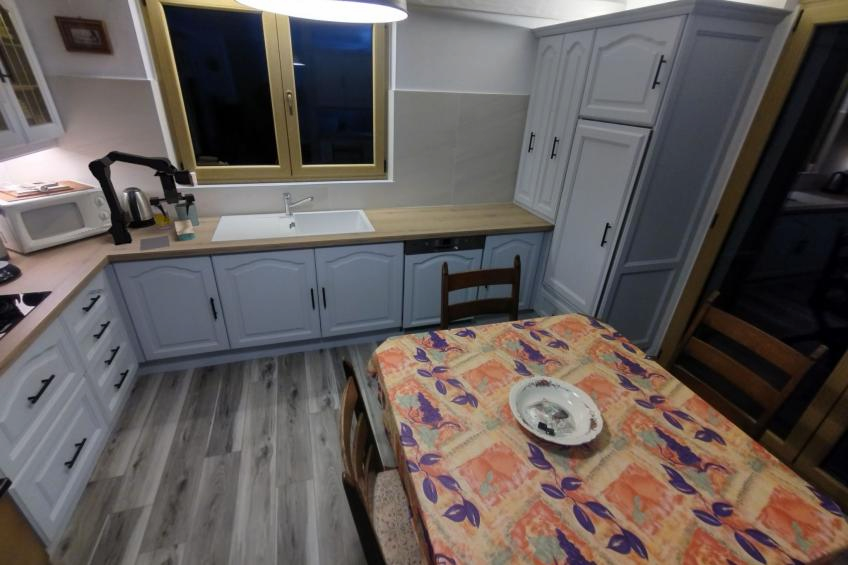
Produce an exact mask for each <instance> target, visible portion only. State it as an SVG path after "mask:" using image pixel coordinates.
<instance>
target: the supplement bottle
mask: <svg viewBox="0 0 848 565" xmlns="http://www.w3.org/2000/svg"><path fill="white" fill-rule="evenodd" d="M161 204H162V206H163V209H164V211H165V213H166V217H167V218H166V217H165V216H164V215H163V213H162V212H161V210H160V209H159V208H158V207H154V206H153V210H152V214H153V217H154V221H155V223H156V224H155V225H156V227H157V229H158V230H165V229H170V228H172V222H171V218H170V216H169V213H168V209H166V208H165V205H164V203H161Z"/></svg>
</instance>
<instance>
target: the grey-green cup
mask: <svg viewBox="0 0 848 565" xmlns="http://www.w3.org/2000/svg"><path fill="white" fill-rule="evenodd" d="M173 206H174V207H173V208H174V210H175V212H176V215H177V218H178V221H185V220H191V223H192V226H193V227H198V226H199V225H200V222H199V217H198V212H197V207H196V202H195V201H194V202H193V203H191V204H190V206H189V212H188V215H187V213H186V205H185V201H184V202H179V203H178V204H176V203H175V204H174V205H173Z"/></svg>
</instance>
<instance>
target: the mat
mask: <svg viewBox="0 0 848 565" xmlns="http://www.w3.org/2000/svg"><path fill="white" fill-rule="evenodd" d="M169 239H170V238H169V234H168V235H161V236H156V237H155V236H154V237H146V238H141V239H140V243H139V244H140V246H139V249H140V250H139V251H140V252H142V251H150V250H155V249H162V248H167V247H168V248H169V247H171V245H170V244H171V243H170V240H169Z"/></svg>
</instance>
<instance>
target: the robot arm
mask: <svg viewBox="0 0 848 565" xmlns="http://www.w3.org/2000/svg"><path fill="white" fill-rule="evenodd" d="M115 162H121V163H126V164H132V165H138V166H142V167H143V166H145V167H148V168H150V169H152V170H154V171H155V173H154V174H153V177H159V181H160V184H161V188H162V192H163V196H164V197H162V198H160V197H159V196H151V197H149V204H150V206H151V207H152V206H154V207H158V208H159V209H160V210H161V212H162V213H163V215H164V216H165V217H166V213H165V211H164V209H163V206H162V204H163V203H167V205H173V204H174V205H175V204H178V203H180V201H181V202H182V201H184V202H185V205H186V213H187V215H188V212H189V206H190V204H191V203H193V202H194V203H195V202H196V198H195V195H194V194H193V193H185V194H184V196H183V195H182V192H180V191H179V192H178V188H177V185H179V186H184V185H185V186H186V185H187V186H188V185H193V184H194V181H193V180H194V178H193V176H192V174H191V172H190V170H189V169H185V170H182V169H181V170H180V169H178V168H177V167H176V166H174V165H173V163H172V161H171V159H170V158H168V157H165V156H143V155H139V154H133V153H129V152H123V151H119V150H111V151H110V152H108V153H107V154H106V155H104V156H102V157H101V158H96V159H94V160H92V161H90V162H89V163H88V165H87V166H88V170H89V171H90V173H91V174H92V176H93V177H94V178H95V180H97V181H98V183H99V186H100V189H101V191H102V193H103V196H104V198H105V201H106V204H107V206H108V208H109V211H110V224H111V226H110V227H109V228H108V230H107V232H108V233H109V234H110V235H111V236H112V239H113V240H114V246H115V247H117V246H122V245H123V246H124V245H127V244H128V245H129V244H132V241H133V238H132V234H131V232H130V231H129V230H128V228H129V225H130V224H131V222H132V221H131V220H132V218H131V215H130V212H129V211H128V210H127V211H125V210H124V209H123V208H122V206H121V202H120V200H119V197H118V195H117V192H116V190H115V187H114V184H113V182H112V180H111V178H112V177H111V174H112V172H111V166H112V165H113V164H114V163H115ZM154 207H153V208H154ZM166 218H167V217H166Z"/></svg>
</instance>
